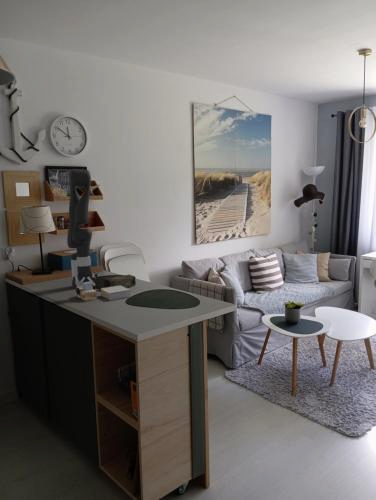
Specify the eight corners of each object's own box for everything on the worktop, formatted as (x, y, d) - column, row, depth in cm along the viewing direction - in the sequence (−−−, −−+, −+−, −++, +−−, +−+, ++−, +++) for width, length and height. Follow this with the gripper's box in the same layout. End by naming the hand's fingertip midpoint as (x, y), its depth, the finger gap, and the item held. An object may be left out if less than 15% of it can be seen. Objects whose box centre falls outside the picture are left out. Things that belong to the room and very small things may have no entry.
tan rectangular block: (76, 296, 228) (76, 287, 227) (87, 294, 231) (86, 286, 231) (86, 301, 217) (85, 292, 216) (96, 299, 220) (96, 290, 219)
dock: (101, 295, 228) (100, 288, 227) (120, 292, 234) (120, 285, 234) (110, 300, 217) (109, 292, 217) (130, 296, 224) (130, 289, 223)
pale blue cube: (82, 289, 222) (82, 282, 222) (89, 288, 225) (89, 281, 224) (85, 291, 219) (85, 283, 219) (92, 289, 222) (92, 282, 221)
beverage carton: (136, 285, 251) (136, 275, 250) (109, 291, 238) (108, 280, 238) (129, 283, 257) (128, 273, 256) (102, 289, 244) (101, 278, 243)
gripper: (93, 262, 230) (95, 290, 233) (69, 265, 223) (71, 294, 225) (98, 263, 224) (100, 292, 226) (73, 267, 216) (75, 296, 219)
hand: (85, 293), depth 226 cm, fingers open, 8 cm apart
